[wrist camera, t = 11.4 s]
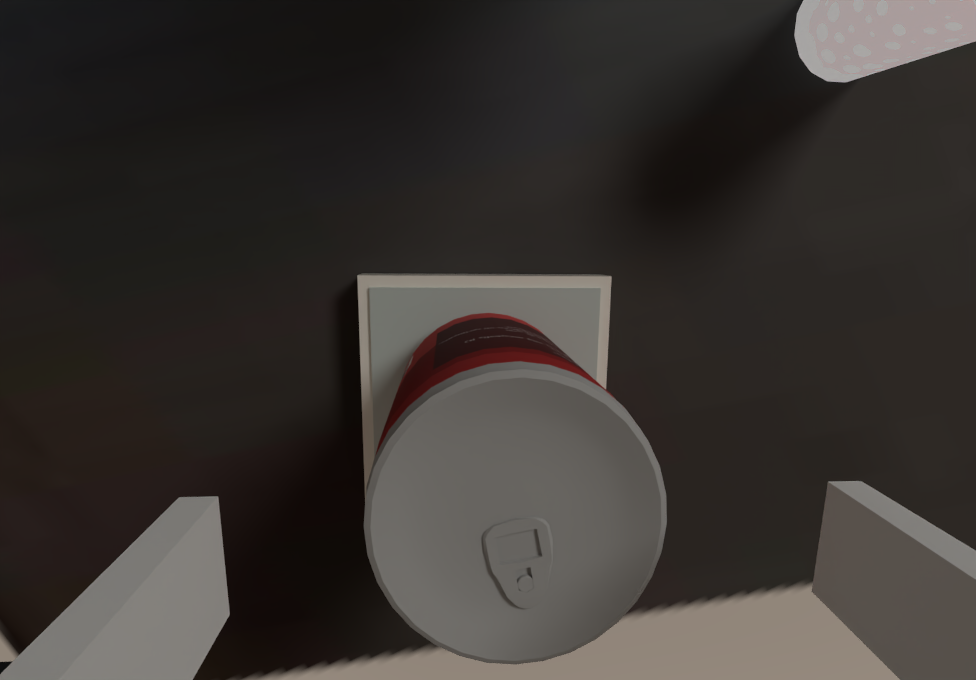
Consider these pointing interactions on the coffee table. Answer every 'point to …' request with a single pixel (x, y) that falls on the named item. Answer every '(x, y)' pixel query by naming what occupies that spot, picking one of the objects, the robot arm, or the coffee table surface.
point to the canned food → (510, 497)
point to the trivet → (444, 297)
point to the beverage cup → (878, 33)
